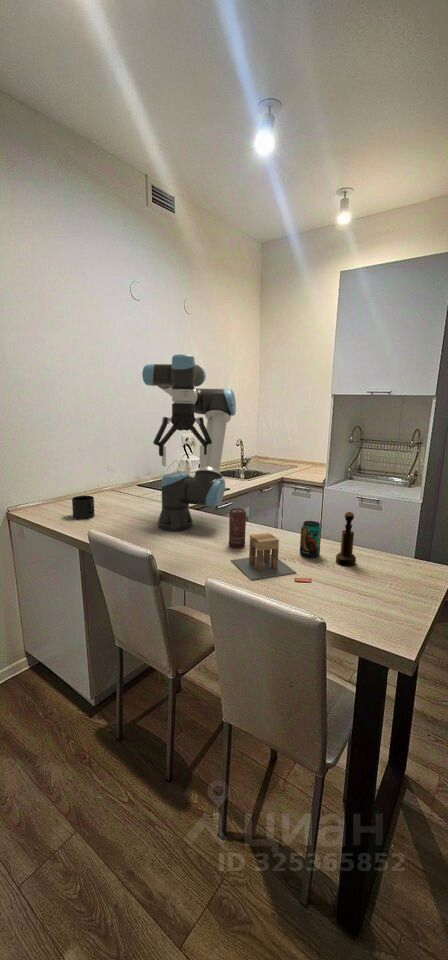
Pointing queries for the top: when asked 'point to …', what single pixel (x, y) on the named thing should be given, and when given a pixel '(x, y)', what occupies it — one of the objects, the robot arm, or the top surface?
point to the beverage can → (310, 539)
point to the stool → (264, 543)
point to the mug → (83, 507)
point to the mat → (267, 570)
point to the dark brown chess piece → (347, 544)
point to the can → (237, 528)
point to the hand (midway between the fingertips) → (183, 465)
